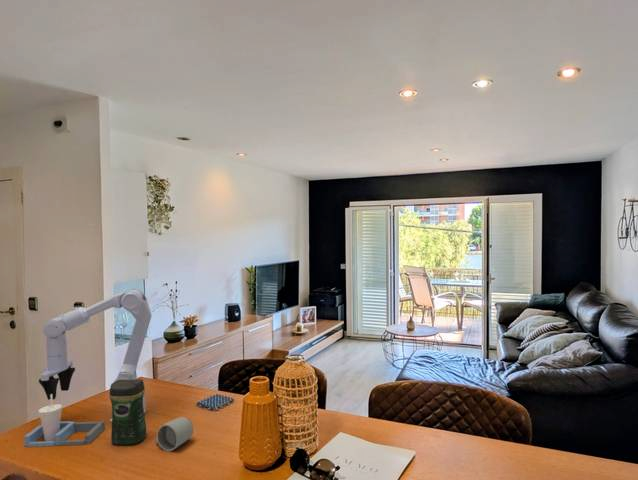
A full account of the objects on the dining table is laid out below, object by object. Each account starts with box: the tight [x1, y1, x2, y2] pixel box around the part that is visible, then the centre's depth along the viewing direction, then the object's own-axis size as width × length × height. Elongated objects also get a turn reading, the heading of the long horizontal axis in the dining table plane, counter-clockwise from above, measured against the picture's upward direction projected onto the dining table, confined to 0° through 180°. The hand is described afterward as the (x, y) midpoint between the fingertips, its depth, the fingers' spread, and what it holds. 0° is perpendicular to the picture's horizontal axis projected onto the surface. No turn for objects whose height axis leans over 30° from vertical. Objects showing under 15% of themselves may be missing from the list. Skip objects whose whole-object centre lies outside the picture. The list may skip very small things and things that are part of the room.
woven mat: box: [195, 393, 235, 413], centre depth 156 cm, size 10×11×2 cm
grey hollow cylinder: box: [155, 416, 194, 452], centre depth 128 cm, size 11×8×8 cm
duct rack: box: [23, 420, 106, 448], centre depth 133 cm, size 20×10×3 cm, turn 92°
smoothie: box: [38, 394, 63, 441], centre depth 133 cm, size 6×6×14 cm
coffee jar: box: [109, 378, 147, 446], centre depth 131 cm, size 10×8×19 cm
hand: (58, 394), depth 142 cm, fingers open, 7 cm apart
